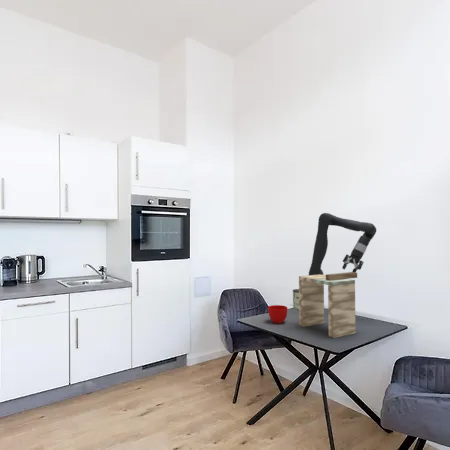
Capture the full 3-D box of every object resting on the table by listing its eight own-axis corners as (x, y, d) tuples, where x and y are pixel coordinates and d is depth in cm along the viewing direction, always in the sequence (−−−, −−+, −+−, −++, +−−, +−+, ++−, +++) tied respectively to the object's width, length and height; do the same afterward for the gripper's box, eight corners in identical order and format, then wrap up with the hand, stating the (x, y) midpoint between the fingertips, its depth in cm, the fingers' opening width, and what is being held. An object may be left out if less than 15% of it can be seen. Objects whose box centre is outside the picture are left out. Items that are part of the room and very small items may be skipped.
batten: (325, 279, 210) (325, 274, 210) (352, 276, 221) (352, 271, 221) (330, 280, 206) (330, 275, 206) (357, 277, 217) (357, 272, 217)
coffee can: (304, 306, 279) (304, 288, 279) (307, 309, 268) (307, 291, 269) (291, 306, 279) (291, 289, 279) (294, 309, 268) (294, 291, 269)
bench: (299, 325, 225) (298, 276, 225) (319, 321, 234) (319, 274, 234) (333, 337, 199) (333, 282, 199) (355, 333, 207) (354, 280, 207)
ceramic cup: (286, 318, 243) (286, 304, 243) (288, 324, 226) (288, 309, 226) (267, 317, 244) (267, 303, 244) (268, 324, 227) (268, 309, 227)
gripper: (348, 245, 240) (337, 265, 241) (364, 251, 228) (352, 273, 228) (354, 249, 244) (343, 269, 244) (370, 255, 232) (359, 276, 232)
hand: (348, 271), depth 236 cm, fingers open, 8 cm apart
